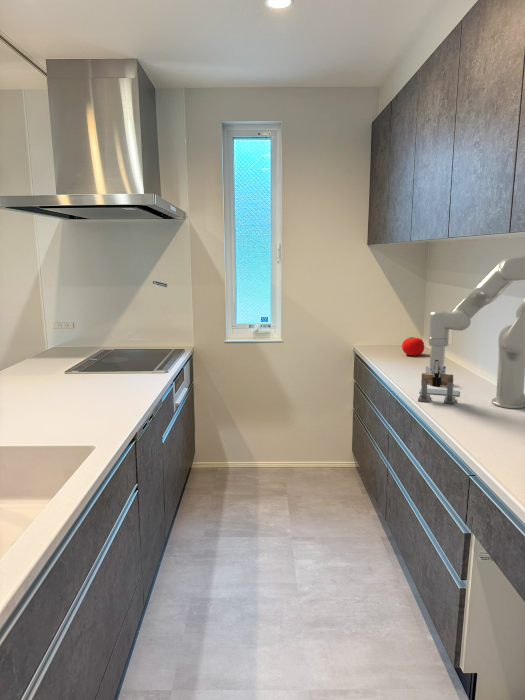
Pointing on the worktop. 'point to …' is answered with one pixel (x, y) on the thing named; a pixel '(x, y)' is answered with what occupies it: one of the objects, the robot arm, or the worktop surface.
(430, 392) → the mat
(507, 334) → the robot arm
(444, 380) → the tan wooden bar
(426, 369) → the medicine box
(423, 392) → the stand
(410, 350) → the tomato
